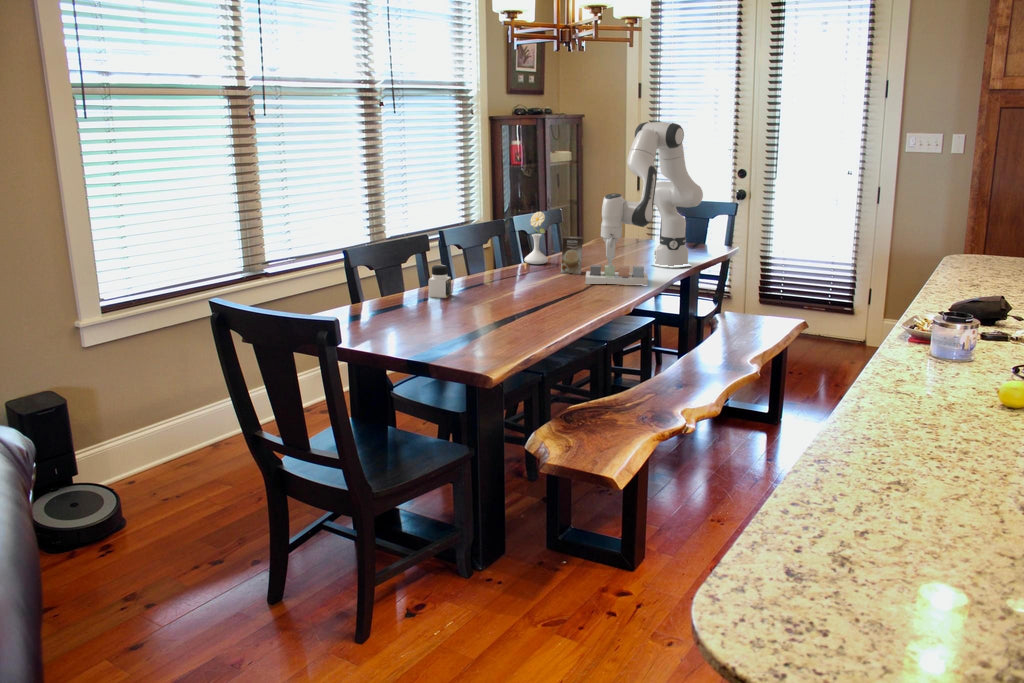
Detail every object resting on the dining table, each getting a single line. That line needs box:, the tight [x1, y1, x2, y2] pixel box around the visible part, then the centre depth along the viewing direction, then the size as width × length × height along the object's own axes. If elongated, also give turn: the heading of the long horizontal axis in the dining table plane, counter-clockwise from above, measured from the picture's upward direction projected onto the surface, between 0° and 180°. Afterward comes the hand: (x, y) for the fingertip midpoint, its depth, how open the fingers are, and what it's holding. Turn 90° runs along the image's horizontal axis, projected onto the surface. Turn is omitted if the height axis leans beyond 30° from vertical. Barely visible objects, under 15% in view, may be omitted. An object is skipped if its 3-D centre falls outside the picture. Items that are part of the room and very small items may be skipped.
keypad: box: [584, 270, 649, 286], centre depth 366 cm, size 14×26×3 cm, turn 84°
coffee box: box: [560, 235, 584, 275], centre depth 384 cm, size 9×6×16 cm
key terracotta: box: [618, 265, 630, 277], centre depth 365 cm, size 4×4×4 cm
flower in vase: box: [523, 211, 549, 265], centre depth 403 cm, size 13×11×25 cm
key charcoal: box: [589, 264, 602, 276], centre depth 367 cm, size 4×4×4 cm
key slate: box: [632, 265, 645, 277], centre depth 365 cm, size 4×4×4 cm
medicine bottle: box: [428, 264, 452, 299], centre depth 335 cm, size 7×7×12 cm
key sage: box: [603, 264, 616, 276], centre depth 366 cm, size 4×4×4 cm
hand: (609, 265), depth 365 cm, fingers closed
